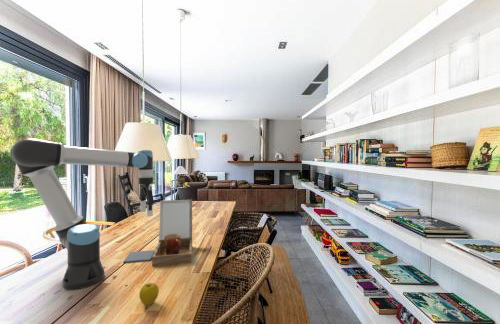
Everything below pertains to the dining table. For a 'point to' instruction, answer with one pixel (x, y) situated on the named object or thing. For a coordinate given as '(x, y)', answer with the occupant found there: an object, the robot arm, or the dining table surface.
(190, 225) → the lid
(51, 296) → the dining table surface
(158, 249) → the shallow wooden tray
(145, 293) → the apple
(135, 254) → the slate mat
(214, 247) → the dining table surface
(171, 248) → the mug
